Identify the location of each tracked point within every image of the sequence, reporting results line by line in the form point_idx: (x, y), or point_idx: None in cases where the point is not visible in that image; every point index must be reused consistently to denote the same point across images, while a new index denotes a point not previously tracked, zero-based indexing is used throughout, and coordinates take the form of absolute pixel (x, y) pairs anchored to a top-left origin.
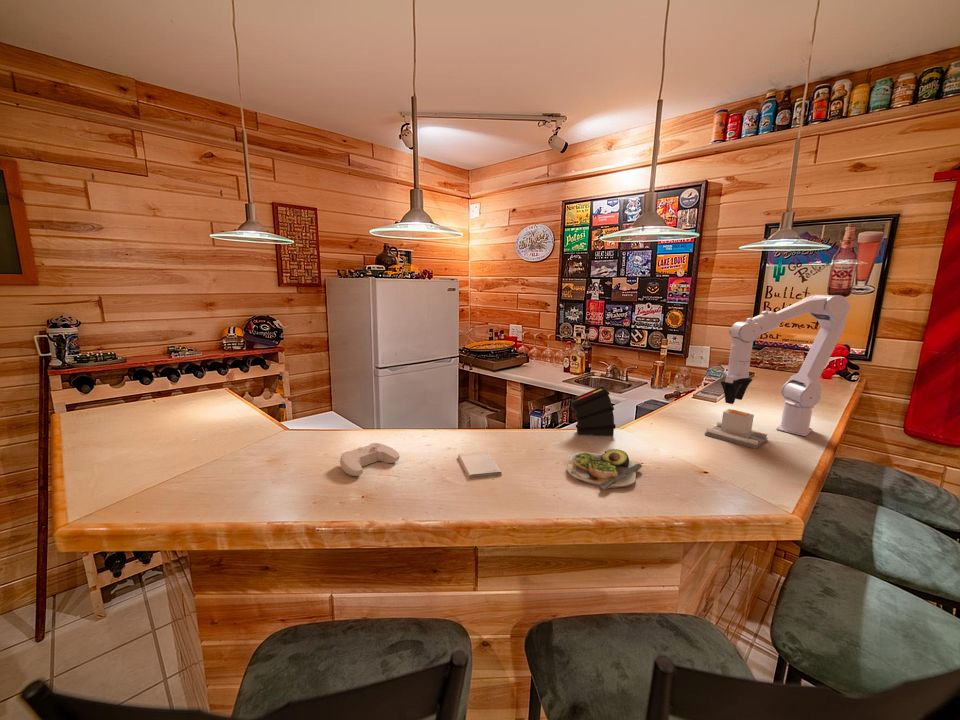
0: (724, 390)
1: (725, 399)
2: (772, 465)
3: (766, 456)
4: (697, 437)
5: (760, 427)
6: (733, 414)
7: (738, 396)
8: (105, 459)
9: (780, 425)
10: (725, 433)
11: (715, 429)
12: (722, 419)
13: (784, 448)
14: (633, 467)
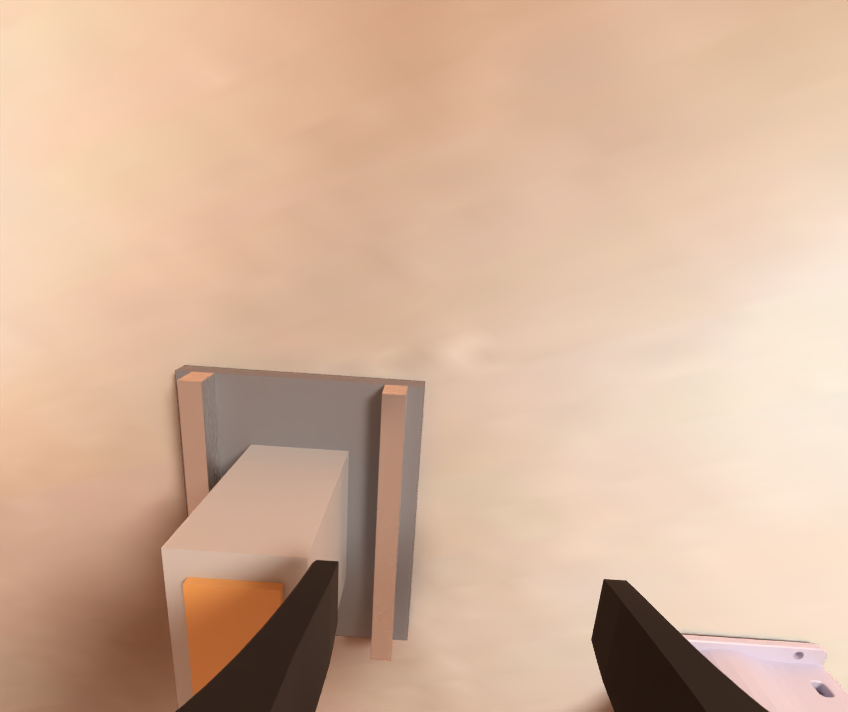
0: (199, 698)
1: (296, 586)
2: (58, 694)
3: (147, 662)
4: (96, 347)
5: (632, 563)
6: (169, 620)
7: (608, 646)
8: None
9: (729, 646)
10: (188, 496)
11: (301, 401)
12: (202, 502)
13: (339, 697)
14: None
